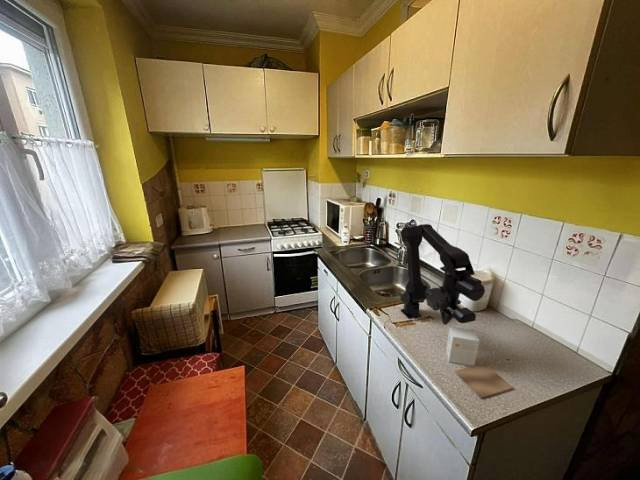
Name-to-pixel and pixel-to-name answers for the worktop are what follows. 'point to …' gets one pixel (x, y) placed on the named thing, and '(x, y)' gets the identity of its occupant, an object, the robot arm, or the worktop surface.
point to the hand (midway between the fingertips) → (444, 324)
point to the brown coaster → (483, 380)
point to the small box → (462, 346)
